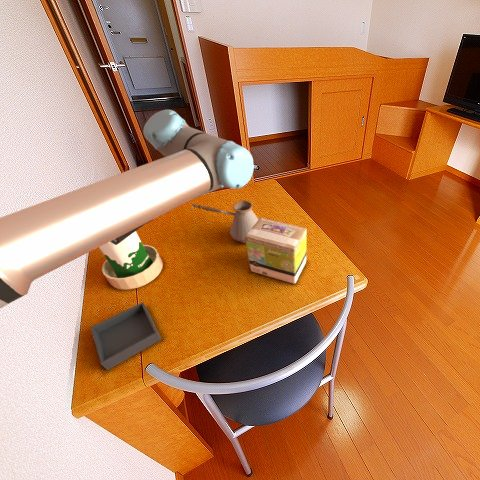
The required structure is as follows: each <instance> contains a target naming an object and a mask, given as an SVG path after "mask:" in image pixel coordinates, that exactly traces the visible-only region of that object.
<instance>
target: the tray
mask: <svg viewBox="0 0 480 480" xmlns="http://www.w3.org/2000/svg"><path fill="white" fill-rule="evenodd" d="M90 332H91V334H92V338H93V341H94V345H95V348H96V353H97V356H98V359H99V363H100V365H101V366H102V367H103V368H104V369H105V370H106V371H109V370H111V369H112V368H114V367H115V366H118V365H119V364H121V363H122V362H125V361H127V360H128V359H129V358H132V357H133V356H135V355H137V354H138V353H140V352H142V351H144V350H146V349H148V348H149V347H152V345H154V344H156V343H158V342H160V341H162V337H161V335H160V333H159V331H158V329H157V326H156V325H155V322H154V320H153V318H152V316H151V314H150V312H149V310H148V308H147V306H146V305H145V303H144V302H143V301H142V302H140V303H137V304H136V305H134V306H132V307H129V308H128V309H126V310H123V311H122V312H119V313H118V314H115V315H113V316H112V317H109V318H107V319H105V320H103V321H101V322H99V323H97V324H94V325H93V326H91V327H90Z"/></svg>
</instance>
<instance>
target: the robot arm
mask: <svg viewBox="0 0 480 480" xmlns="http://www.w3.org/2000/svg"><path fill="white" fill-rule="evenodd" d="M143 136H144V138H145V139H146V140H147V141H148V142H149V143H150V145H152V146H153V147H154V150H156V151H157V152H159V153H160V154H161V155H163V156H164V157H161V158H159V159H155V160H153V161H151V162H148V163H145V164H141V165H140V166H137V167H134V168H132V169H129V170H126V171H123V172H120V173H117V174H115V175H113V176H110V177H106V178H104V179H101V180H98V181H96V182H93V183H90V184H88V185H86V186H82V187H80V188H77V189H74V190H72V191H68V192H67V193H63V194H60V195H57V196H55V197H53V198H50V199H47V200H45V201H41V202H39V203H36V204H33V205H31V206H28V207H25V208H23V209H22V208H21V209H20V210H17V211H15V212H11V213H9V214H6V215H4V216H3V215H2V216H1V217H0V309H2V308H4V307H6V306H8V305H9V304H11V303H13V302H14V301H17V300H18V299H21V298H23V297H24V296H26V295H28V293H29V291H30V288H31V286H32V283H33V282H34V281H36V280H37V279H39V278H41V277H43V276H45V275H48V274H49V273H51V272H53V271H55V270H57V269H59V268H60V267H63V266H65V265H66V264H68V263H70V262H73V261H75V260H77V259H78V258H81V257H82V256H85V255H86V254H88V253H91V252H92V251H94V250H96V249H98V248H99V247H100V246H102V245H104V244H106V243H108V242H112V243H113V244H115V245H117V244H119V243H120V242H122V241H123V240H124V239H126V238H127V237H128V236H130V235H131V234H132V233H134V232H135V231H136V232H137V231H138V230H139V229H141V228H143V226H145V225H147V224H148V223H149V224H150V223H151V222H153V221H154V220H155V219H157V218H158V217H161V216H163V215H164V214H166V213H169V212H171V211H173V210H174V209H176V208H179V207H181V206H182V205H184V204H187V203H188V202H191V201H192V200H195V199H196V198H200V197H202V196H205V195H207V194H209V193H211V192H214V191H216V190H220V189H223V188H226V189H227V188H229V189H233V190H235V189H236V190H237V189H241V188H243V187H245V186H246V185H247V184H248V183H249V182H250V181H251V179H252V177H253V174H254V170H255V169H254V168H255V164H254V158H253V155H252V154H251V152H250V151H249V150H248V149H247V148H245V147H243V146H241V145H239V144H237V143H236V142H234V141H233V140H227V139H224V138H221V137H217V136H215V135H214V134H213V135H212V134H209V133H208V132H205V131H202V130H199V129H196V128H194V127H191V126H189V124H188V123H187V121H186V120H185V119H184V118H182V117H181V116H180V115H179V114H178V113H177V112H176V111H175V110H172V109H163V110H159V111H157V112H155V113H154V114H153V115H151V116H150V117H149V118H148V120H147V121H146V122H145V124H144V127H143Z"/></svg>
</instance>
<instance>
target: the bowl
mask: <svg viewBox="0 0 480 480" xmlns="http://www.w3.org/2000/svg"><path fill="white" fill-rule="evenodd" d="M143 246H144V248H145V250H146V252H147V254H148V255H149V257H150V258H151V260H152V261H153V264H152V265H151V266H150V267H149V268H147V269H146V270H144V271H143V272H141V273H138V274H136V275H134V276H130V277H126V278H117V276H116V274H115V272H114V270H113V268H112V266H111V265H110V263H109V262H108V260H107V259H106V260H105V261H104V262H103V264H102V268H101V271H102V274H103V276H104V277H105V279H106V280H107V281H108V283H109V284H110V285H111V286H112V287H113V288H114V289H118V290H125V291H126V290H134V289H137V288H142V287H143V286H146V285H147V284H149V283H151V282H152V281H153V280H155V279H156V278H157V277H158V276H159V275H160V274H161V272H162V270H163V266H164V263H163V260H162V258H161V256H160V254H159V252H158V250H157V249H156V247H154V246H152V245H148V244H143Z"/></svg>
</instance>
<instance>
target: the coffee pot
mask: <svg viewBox="0 0 480 480" xmlns="http://www.w3.org/2000/svg"><path fill="white" fill-rule="evenodd" d="M193 208H198V209H201V210H205V211H208V212H214V213H220V214H224V215H229V216H232V217H233V219H232V223H231V227H230V230H229V234H230V236H231V237H232V239H233V240H235V241H237V242H239V243H241V244H246V241H245V236H246V235H247V233H248V232H249V231H250V230H251V228H252V227H253V226H254V225H255V224H256V222H257V221H258V220H259V219H260V218H258V217H257V215H256V213H255V212H254V211H253V210H252V209H253V208H254V204H253V202H251V201H249V200H245V199H242V200H239V201H237V202H235V203H234V204H233V205H232V209H233V211H234V212H232V211H226V210H221V209H218V208H215V207H211V206H207V205H205V206H204V205H201V204H198V205H197V204H194V203H193V204H191V209H193Z"/></svg>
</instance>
